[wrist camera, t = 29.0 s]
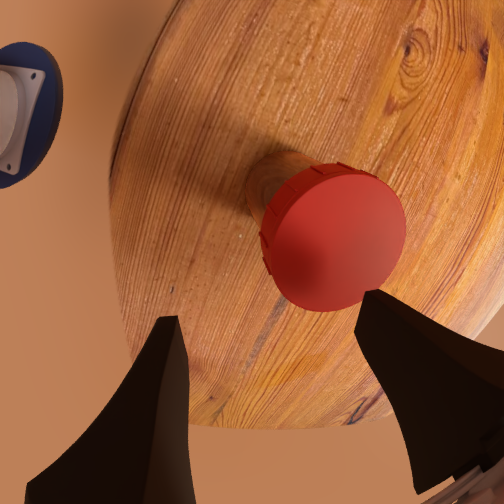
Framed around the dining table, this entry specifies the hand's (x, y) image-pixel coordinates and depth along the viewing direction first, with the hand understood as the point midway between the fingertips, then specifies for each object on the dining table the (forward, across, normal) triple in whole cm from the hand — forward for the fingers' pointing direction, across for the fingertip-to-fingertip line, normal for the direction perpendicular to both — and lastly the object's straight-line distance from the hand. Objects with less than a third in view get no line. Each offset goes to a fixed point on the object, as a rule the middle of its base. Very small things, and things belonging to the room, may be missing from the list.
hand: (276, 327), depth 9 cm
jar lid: (+2, -3, -2) cm, 4 cm away
